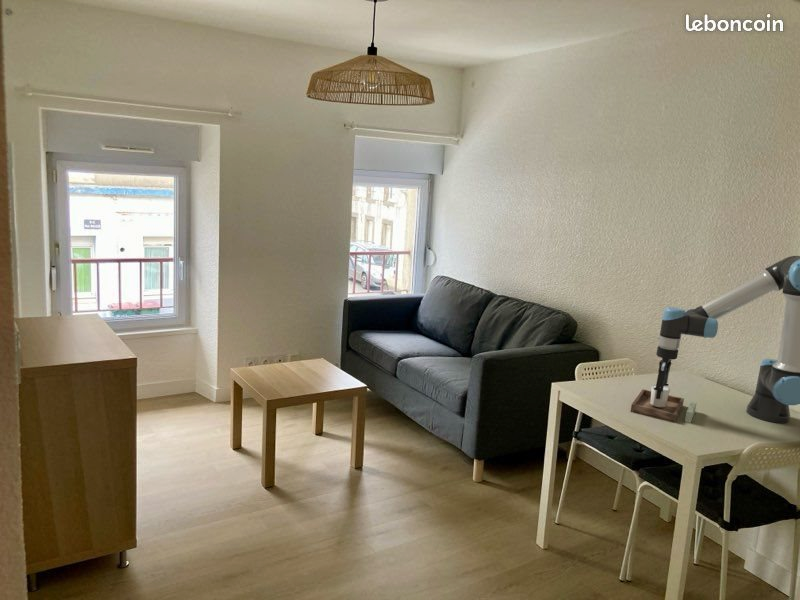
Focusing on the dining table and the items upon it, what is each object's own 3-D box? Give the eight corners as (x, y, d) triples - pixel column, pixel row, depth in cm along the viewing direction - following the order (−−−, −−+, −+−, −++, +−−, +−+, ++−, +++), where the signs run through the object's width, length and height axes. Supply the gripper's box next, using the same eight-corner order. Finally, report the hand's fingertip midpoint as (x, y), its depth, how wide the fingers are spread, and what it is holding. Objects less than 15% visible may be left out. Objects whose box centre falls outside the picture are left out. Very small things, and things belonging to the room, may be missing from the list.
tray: (682, 405, 260) (684, 398, 259) (674, 422, 239) (676, 414, 239) (641, 396, 267) (642, 389, 267) (630, 411, 247) (631, 404, 246)
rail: (695, 411, 254) (696, 401, 253) (690, 423, 240) (692, 412, 239) (689, 410, 255) (691, 400, 254) (684, 421, 241) (686, 411, 240)
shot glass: (668, 408, 249) (671, 391, 248) (650, 405, 250) (653, 388, 249) (665, 402, 256) (668, 386, 254) (647, 400, 257) (650, 383, 256)
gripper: (661, 340, 259) (652, 395, 263) (653, 350, 242) (643, 408, 246) (681, 344, 255) (671, 399, 260) (675, 354, 238) (664, 413, 243)
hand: (658, 403), depth 253 cm, fingers closed on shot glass, 7 cm apart
